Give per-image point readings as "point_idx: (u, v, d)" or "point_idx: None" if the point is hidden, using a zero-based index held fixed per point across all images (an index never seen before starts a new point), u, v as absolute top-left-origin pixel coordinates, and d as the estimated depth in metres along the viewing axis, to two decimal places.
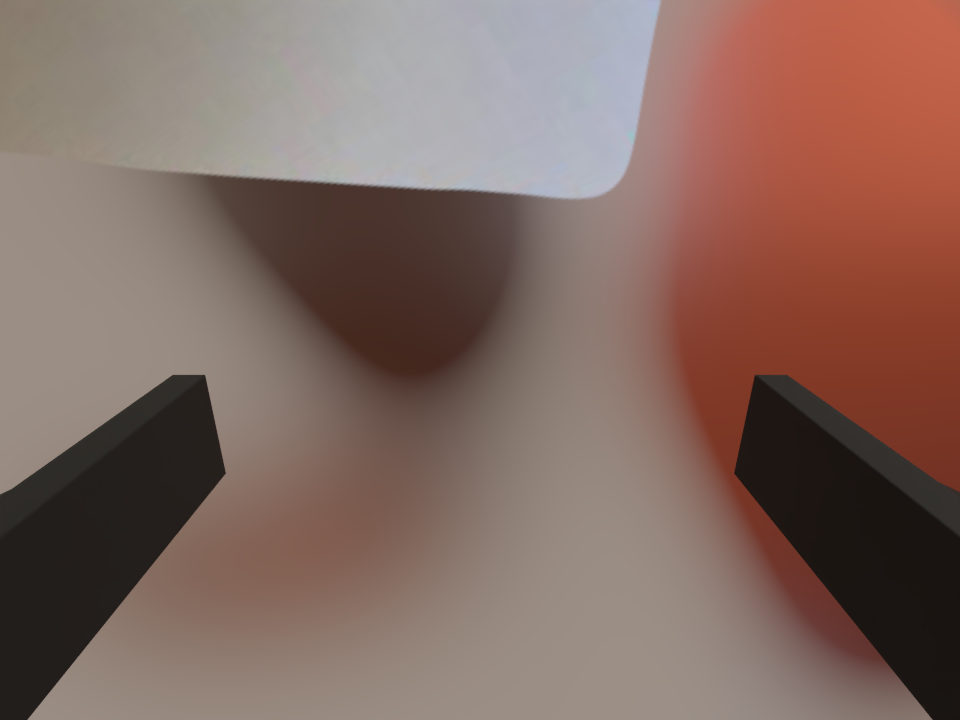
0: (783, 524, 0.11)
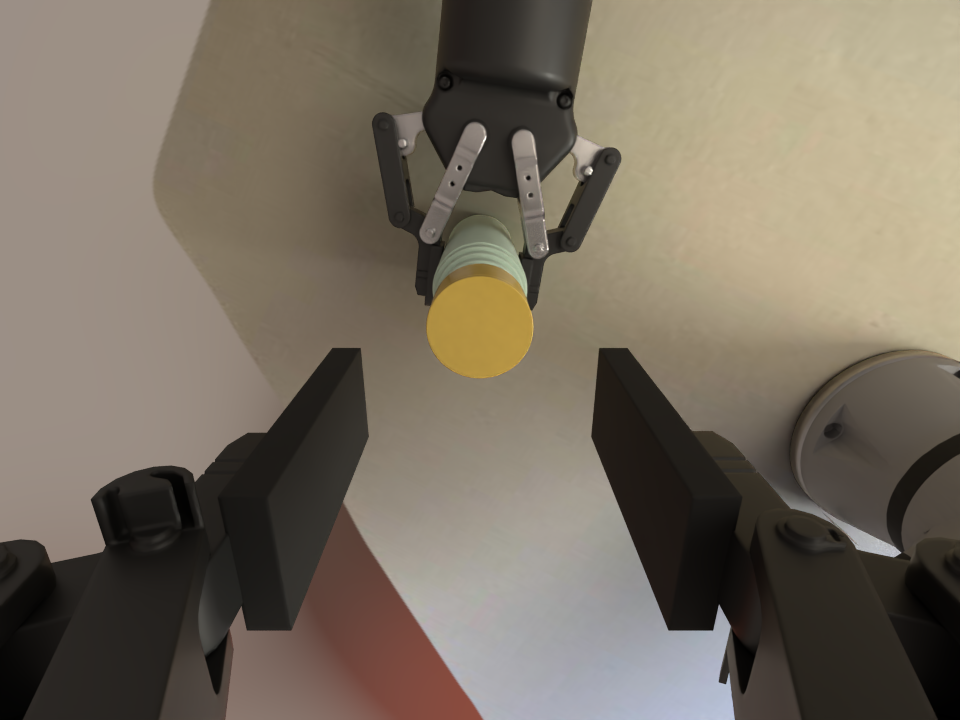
0: (609, 474, 0.13)
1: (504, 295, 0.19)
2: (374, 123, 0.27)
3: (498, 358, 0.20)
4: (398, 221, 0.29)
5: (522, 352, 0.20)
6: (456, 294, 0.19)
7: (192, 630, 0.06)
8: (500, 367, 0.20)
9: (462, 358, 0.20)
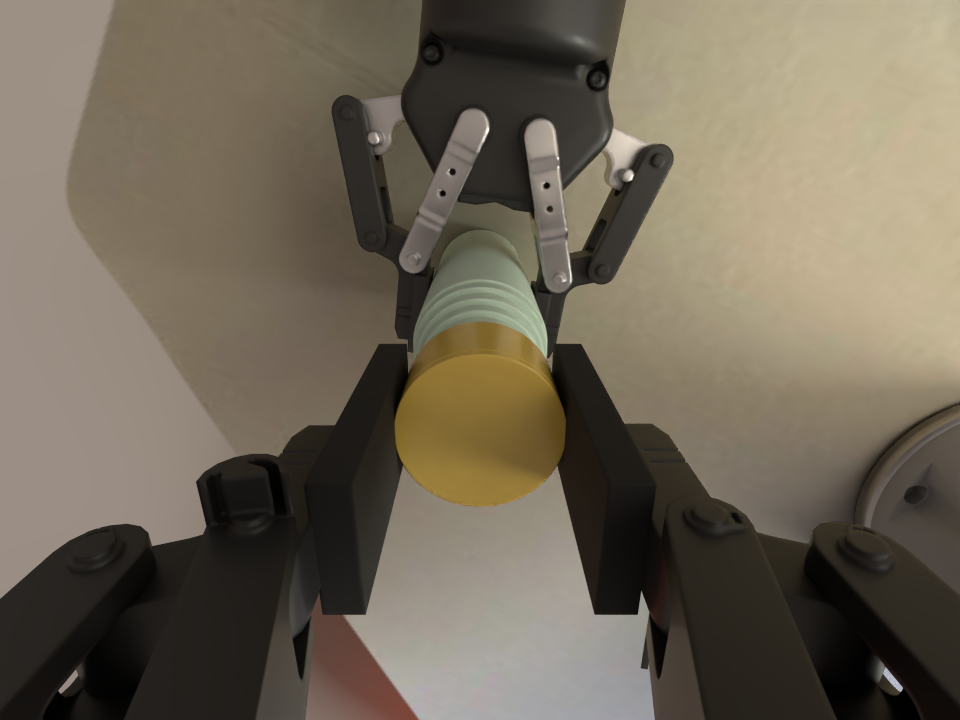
0: (560, 467, 0.13)
1: (520, 384, 0.12)
2: (334, 110, 0.20)
3: (510, 478, 0.13)
4: (370, 243, 0.22)
5: (548, 469, 0.12)
6: (442, 382, 0.12)
7: (284, 616, 0.06)
8: (513, 491, 0.13)
9: (452, 478, 0.13)
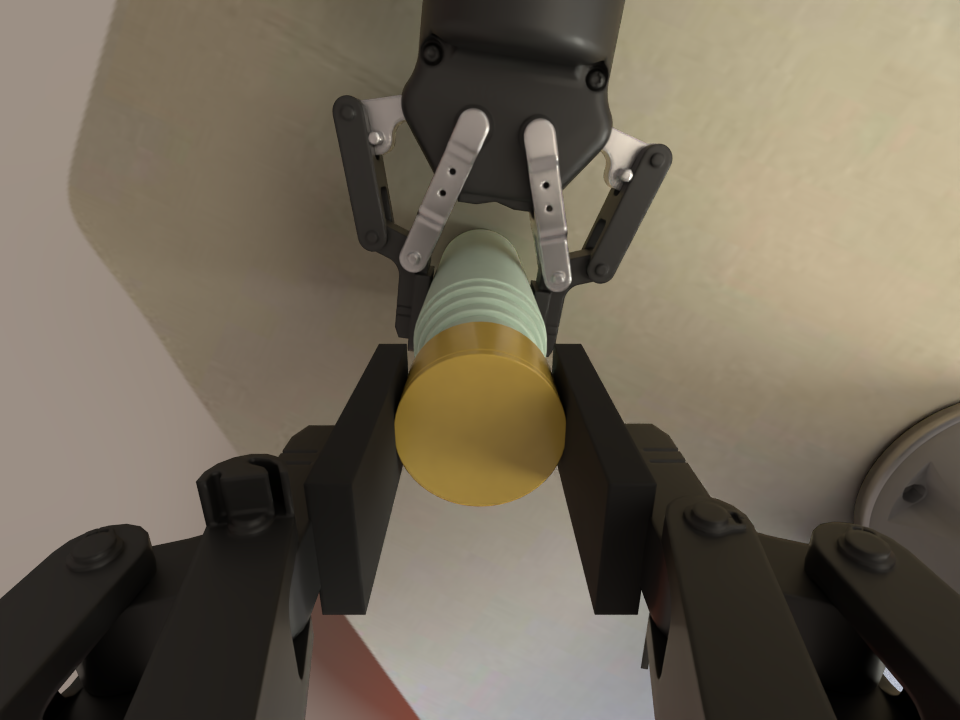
0: (560, 467, 0.13)
1: (411, 432, 0.12)
2: (335, 110, 0.20)
3: (507, 386, 0.12)
4: (370, 243, 0.22)
5: (476, 360, 0.11)
6: (451, 487, 0.13)
7: (284, 616, 0.06)
8: (520, 375, 0.12)
9: (538, 433, 0.12)
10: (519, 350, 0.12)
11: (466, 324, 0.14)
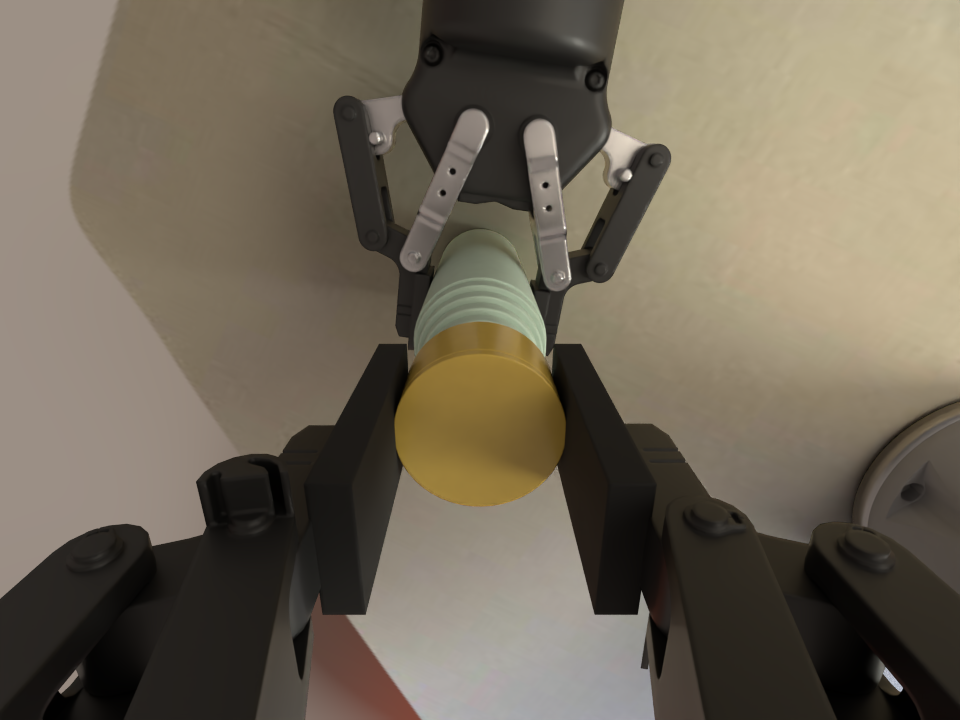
0: (559, 467, 0.13)
1: (511, 485, 0.13)
2: (336, 111, 0.20)
3: (421, 440, 0.12)
4: (371, 242, 0.22)
5: (415, 474, 0.13)
6: (548, 428, 0.12)
7: (284, 616, 0.06)
8: (405, 436, 0.12)
9: (445, 391, 0.12)
10: None
11: None
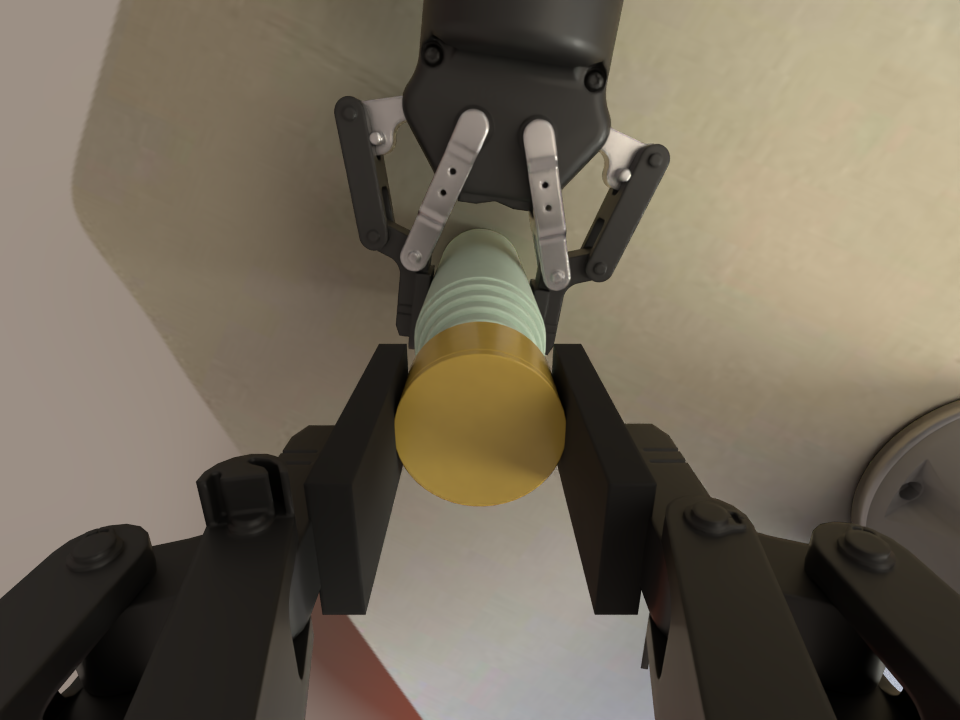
0: (559, 467, 0.13)
1: (514, 380, 0.12)
2: (337, 111, 0.20)
3: (514, 475, 0.13)
4: (372, 242, 0.22)
5: (552, 463, 0.12)
6: (435, 386, 0.12)
7: (284, 616, 0.06)
8: (519, 487, 0.13)
9: (457, 480, 0.13)
10: None
11: None
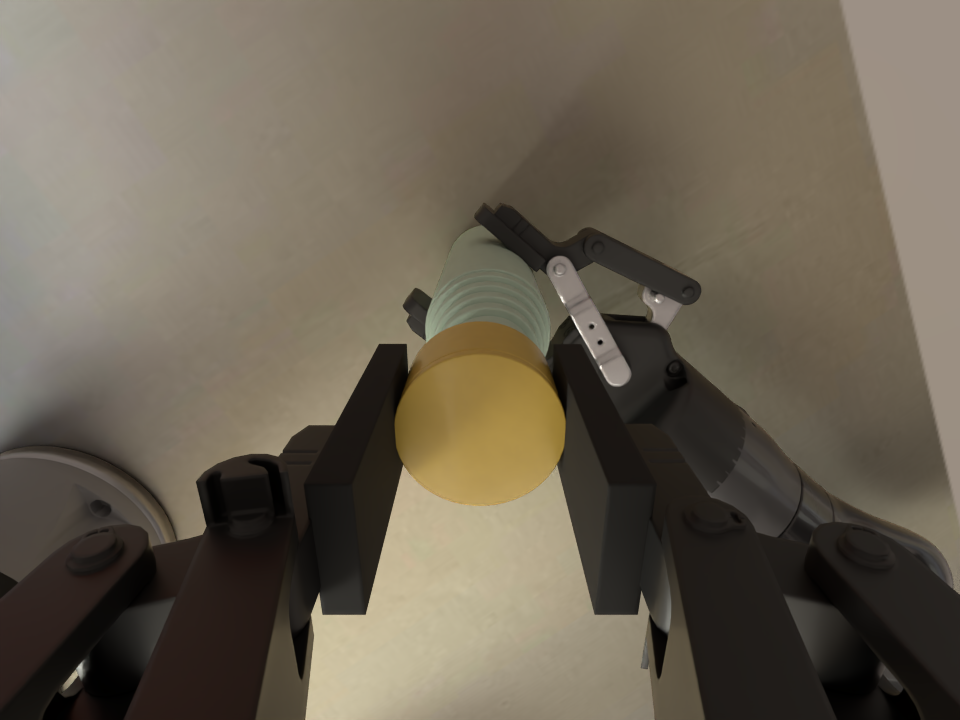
0: (559, 467, 0.13)
1: (514, 380, 0.12)
2: (696, 284, 0.24)
3: (514, 474, 0.13)
4: (594, 244, 0.23)
5: (552, 462, 0.12)
6: (436, 385, 0.12)
7: (284, 616, 0.06)
8: (519, 487, 0.13)
9: (457, 479, 0.13)
10: None
11: None
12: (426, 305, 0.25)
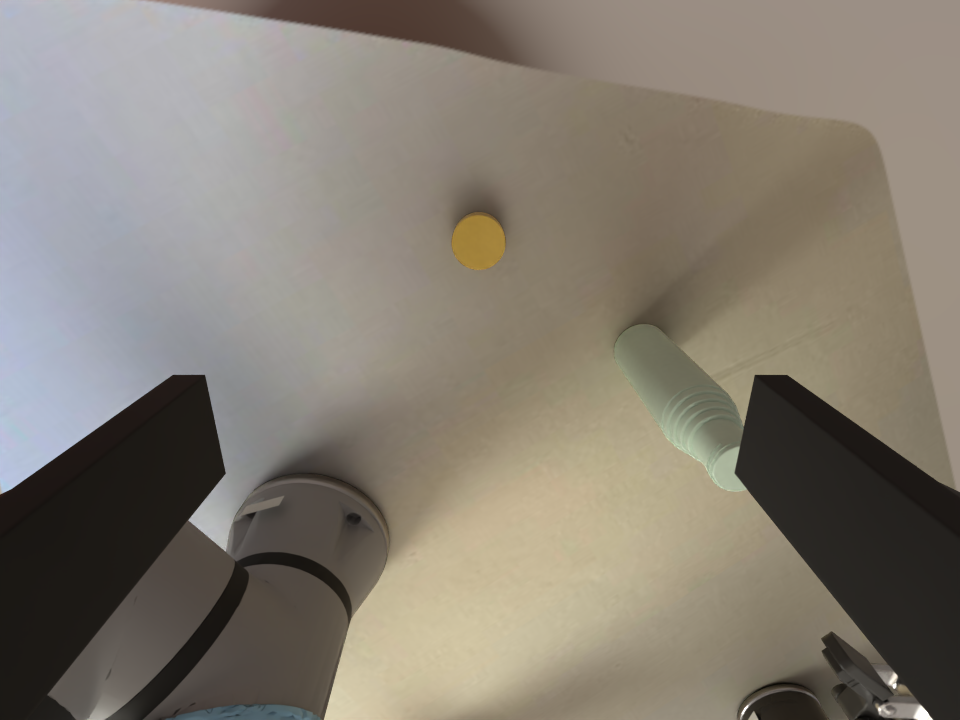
0: (782, 524, 0.11)
1: (489, 224, 0.39)
2: None
3: (489, 257, 0.40)
4: None
5: (501, 253, 0.39)
6: (465, 225, 0.39)
7: None
8: (491, 262, 0.40)
9: (471, 259, 0.40)
10: None
11: None
12: (856, 661, 0.28)
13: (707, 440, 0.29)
